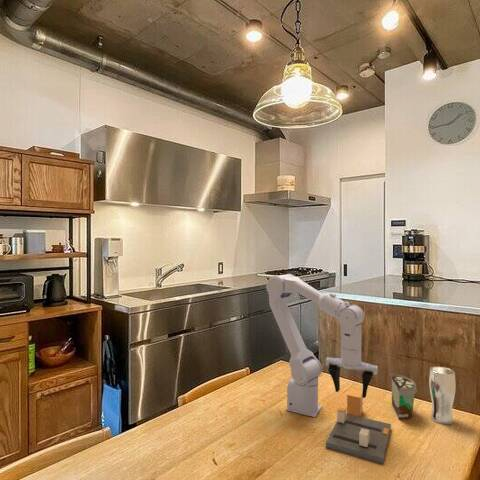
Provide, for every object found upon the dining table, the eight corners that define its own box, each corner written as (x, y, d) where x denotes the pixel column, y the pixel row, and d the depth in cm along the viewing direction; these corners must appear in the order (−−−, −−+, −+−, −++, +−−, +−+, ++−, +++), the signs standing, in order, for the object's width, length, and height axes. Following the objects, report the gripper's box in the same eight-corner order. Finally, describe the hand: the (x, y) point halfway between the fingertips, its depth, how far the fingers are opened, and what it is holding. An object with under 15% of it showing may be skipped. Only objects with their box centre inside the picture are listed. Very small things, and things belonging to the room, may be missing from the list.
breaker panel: (325, 447, 93) (325, 441, 93) (341, 417, 109) (341, 411, 109) (382, 464, 86) (382, 457, 86) (390, 429, 102) (390, 423, 102)
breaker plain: (359, 445, 91) (359, 433, 91) (361, 439, 94) (361, 428, 94) (367, 447, 90) (367, 435, 90) (369, 441, 93) (369, 430, 93)
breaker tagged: (337, 421, 103) (337, 410, 103) (339, 416, 106) (339, 405, 106) (344, 423, 102) (344, 411, 102) (346, 418, 105) (346, 407, 105)
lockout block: (347, 414, 111) (347, 394, 111) (349, 408, 115) (349, 390, 114) (360, 417, 109) (360, 397, 109) (362, 411, 113) (362, 392, 113)
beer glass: (452, 415, 110) (452, 367, 110) (458, 427, 103) (458, 376, 103) (427, 412, 112) (427, 365, 112) (431, 423, 106) (431, 373, 105)
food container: (422, 424, 105) (422, 390, 105) (399, 422, 106) (400, 388, 106) (410, 404, 117) (410, 374, 117) (390, 403, 118) (391, 373, 118)
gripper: (322, 347, 104) (322, 393, 104) (375, 355, 97) (374, 405, 97) (329, 341, 110) (329, 384, 110) (378, 348, 103) (378, 395, 103)
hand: (350, 393), depth 104 cm, fingers open, 7 cm apart
